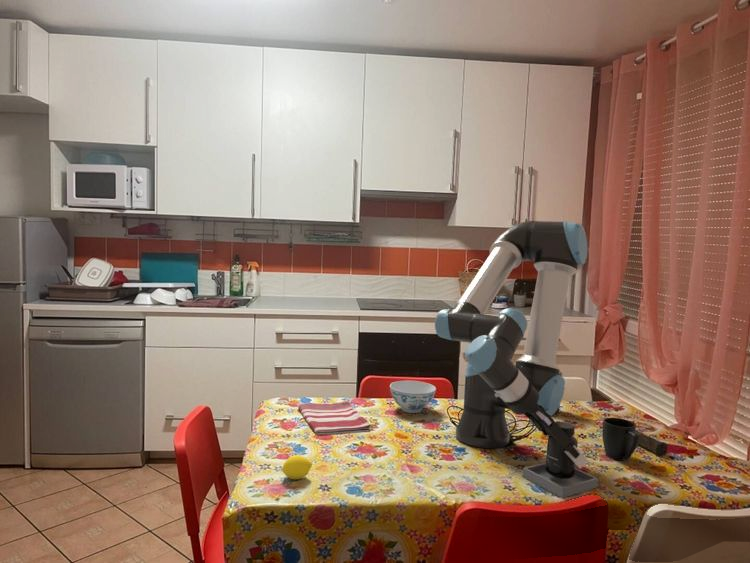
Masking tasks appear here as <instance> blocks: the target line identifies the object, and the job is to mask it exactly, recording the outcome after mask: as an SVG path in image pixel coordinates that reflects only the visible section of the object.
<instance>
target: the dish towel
mask: <svg viewBox="0 0 750 563" xmlns="http://www.w3.org/2000/svg"><path fill="white" fill-rule="evenodd" d="M298 410H299V411H300V413H301V415H302V417H303V418H304V420H305V421H306V422H307V423H308V425H309V427H310V428H311V429H312V431H313V432H314V433H315V435H317V436H318V435H319V436H322V435H333V434H346V433H347V434H349V433H361V432H362V433H363V432H370V429H371V424H370V423H369V422H368V420H367V419H365V418H364V417H363V416H361V415H360V414H359V412H358V411H357V410H356V409H354V408H353V406H351V403H350V401H343V402H342V401H341V402H335V403H314V402H308V403H307V402H306V403H302V404H300V405H298Z"/></svg>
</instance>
